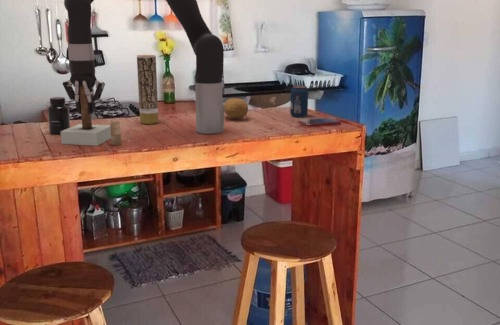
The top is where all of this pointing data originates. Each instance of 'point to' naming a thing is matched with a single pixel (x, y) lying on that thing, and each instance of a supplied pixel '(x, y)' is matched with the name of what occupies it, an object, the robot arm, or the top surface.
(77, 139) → the hole block
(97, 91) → the robot arm
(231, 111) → the potato
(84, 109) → the long pin
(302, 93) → the soda can
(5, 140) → the top surface
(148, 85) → the paper tube
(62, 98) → the supplement bottle
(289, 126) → the top surface
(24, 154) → the top surface
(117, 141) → the short pin
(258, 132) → the top surface
